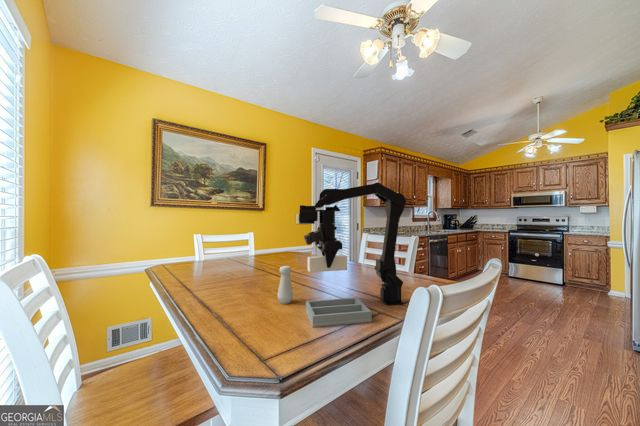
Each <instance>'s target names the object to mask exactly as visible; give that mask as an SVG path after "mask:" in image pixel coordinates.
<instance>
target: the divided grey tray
mask: <svg viewBox="0 0 640 426" xmlns="http://www.w3.org/2000/svg"><path fill="white" fill-rule="evenodd" d="M305 311H306V314H307V316H308V320H309V322H310V324H311V326H312V328H316V327H317V328H319V327H331V326H339V325H350V324H361V323H363V324H364V323H372V314H373V313H372V310H370V309H369V308H368V306H366V305H365V304H364V303H363V302H362V301H361V300H359V299H358V298H357V297H345V298H335V299H334V298H333V299H331V298H330V299H316V300H306V301H305Z"/></svg>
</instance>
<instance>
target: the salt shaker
mask: <svg viewBox="0 0 640 426" xmlns="http://www.w3.org/2000/svg"><path fill="white" fill-rule="evenodd" d="M279 273H280V281H279V284H278V290H277V299H278V302H279V304H283V305H286V304H287V305H288V304H291V303H292V301H293V298H294V292H293V285H292V279H291V273H292V267H291V266H289V265H283V266H280V267H279Z"/></svg>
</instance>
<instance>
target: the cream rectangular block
mask: <svg viewBox="0 0 640 426" xmlns="http://www.w3.org/2000/svg"><path fill="white" fill-rule="evenodd" d="M307 271H308V272H309V273H320V272H321V273H322V272H323V273H324V272H335V271H336V272H337V271H338V272H339V271H341V272H342V271H348V256H347V255H344V254H339V255H338V254H336V256H335V258H334V260H333V263H332V265H331V267H330V268H327V264H326V258H325V256H322V255H316V256H315V255H314V256H307Z"/></svg>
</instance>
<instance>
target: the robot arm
mask: <svg viewBox="0 0 640 426" xmlns="http://www.w3.org/2000/svg"><path fill="white" fill-rule="evenodd" d="M370 195H374V196H375V197H377V198H378V199H379V200H380V201H382V202H383V203H384V207H385V215H386V223H385V230H384V238H383V245H382V253H381V256H380V258H375V265H374V266H375V267H374V270H375V274H376V276H377V277H378V278H379V279H380V281H381V282H382V283H381V288H380V297H379V300H380V301H381V302H383V303H384V304H386V305H402V304H404V303H405V302H404V301H403V300H402V287H403V284H404V281H403V280H402V279H401V278H399V276H397V265H396V264H397V263H396V259H395V254H396V253H395V252H396V248H397V247H396V246H397V239H398V238H397V237H398V233H399V232H398V231H399V225H400V224H399V223H400V218H401V216H402V214H403V212H404V211H405V208H406V205H407V198H406V197H405V195H404V194H402V193H400V192H399V193H398V192H396V191H394V190H393V189H391V188H388V187H386V186H385V185H384V184H382V183H380V182H374V183H371V184H364V185H360V186H353V187H349V188H325V189H323V190H322V191H321V192H320V194H319V197H318V200H317V202H315V205H304V204H300V205H299V214H298V224H299V225H314V224H315V222H319V224H318V225H319V226H318V227H317V230H316V231H313V230H312V231H311V232H308V233H307V234H305V235H303V239H304V241H305V244H306V245H307V246H310V245H312V244H313V243H314V245H315V246H316V248H317V249H319V250H320V252H321V256H325V258H326V264H327V268H330V267H331V265H332V263H333V260H334V258H335V256H336V255H338V251H339V250H343V243H342V241H340V240H338V239H337V237H336V230H337V226H336V212H340V211H341V208H339V207H338V205H337V203H339V202H342V201H344V200H345V201H346V200H349V199H355V198H360V197H365V196H370ZM334 204H335V205H334ZM331 205H334V206H331ZM324 206H325V209H321V208H322V207H324ZM318 212H319V213H318ZM318 214H319V216H318ZM318 217H319V219H318ZM318 220H319V221H318Z"/></svg>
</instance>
